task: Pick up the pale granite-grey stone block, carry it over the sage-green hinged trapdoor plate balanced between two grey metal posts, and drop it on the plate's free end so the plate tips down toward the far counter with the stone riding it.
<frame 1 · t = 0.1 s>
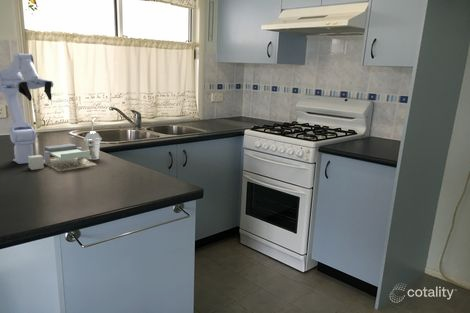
hand: (40, 98, 156), 32 cm above the counter, tool tilted 50°, fingers open, 7 cm apart
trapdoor: (67, 153, 180), point 5 cm above the counter, hinge at 0.0°
cup with straw: (94, 158, 193), on the counter
stone: (36, 168, 172), on the counter
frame: (64, 161, 184), on the counter
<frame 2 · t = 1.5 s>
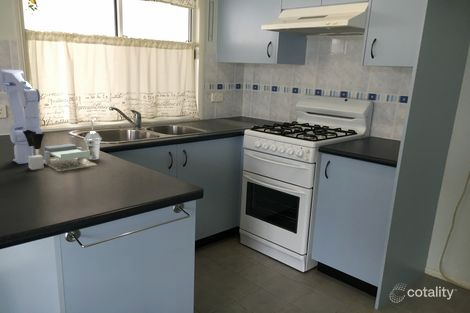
hand: (34, 147, 170), 9 cm above the counter, tool pointing down, fingers open, 7 cm apart
nothing on the counter moved.
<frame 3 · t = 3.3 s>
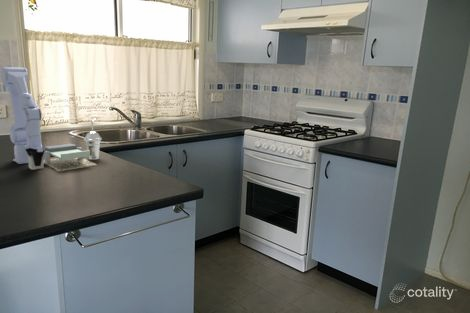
hand: (36, 164, 172), 1 cm above the counter, tool pointing down, fingers closed on stone, 4 cm apart
stone: (36, 168, 172), on the counter, touching gripper
everything else where it was.
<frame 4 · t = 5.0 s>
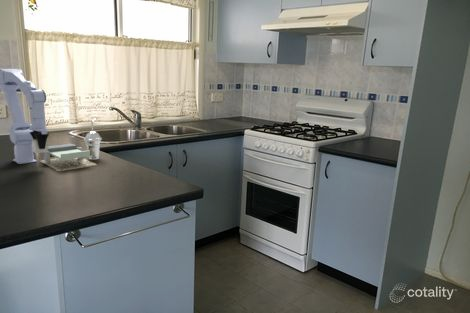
hand: (40, 148, 171), 9 cm above the counter, tool pointing down, fingers closed on stone, 4 cm apart
stone: (40, 151, 171), point 7 cm above the counter, touching gripper
everything else where it was.
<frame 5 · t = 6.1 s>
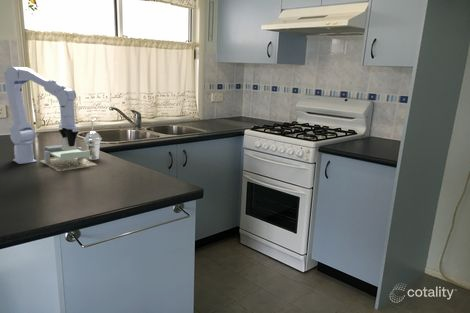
hand: (69, 145, 175), 10 cm above the counter, tool pointing down, fingers closed on stone, 4 cm apart
stone: (69, 149, 175), point 8 cm above the counter, touching gripper
everything else where it was.
when the fingers open (10 cm above the counter, at t = 6.6 s): stone drops 4 cm, resting on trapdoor.
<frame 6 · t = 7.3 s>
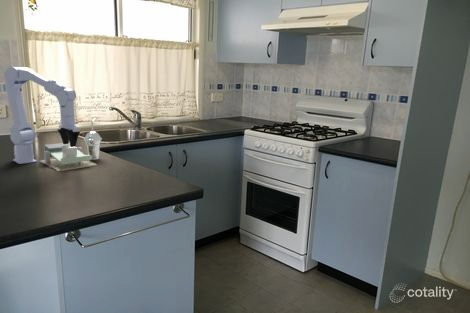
hand: (69, 145, 175), 10 cm above the counter, tool pointing down, fingers open, 7 cm apart
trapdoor: (67, 154, 181), point 4 cm above the counter, hinge at -8.6°, touching stone
stone: (69, 158, 176), point 4 cm above the counter, tilted 9°, touching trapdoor
everything else where it was.
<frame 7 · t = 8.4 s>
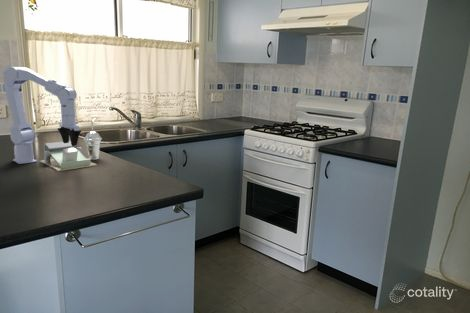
hand: (70, 144, 176), 10 cm above the counter, tool pointing down, fingers open, 7 cm apart
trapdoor: (67, 155, 181), point 4 cm above the counter, hinge at -16.2°, touching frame, stone
stone: (69, 160, 176), point 3 cm above the counter, tilted 16°, touching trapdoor
everything else where it was.
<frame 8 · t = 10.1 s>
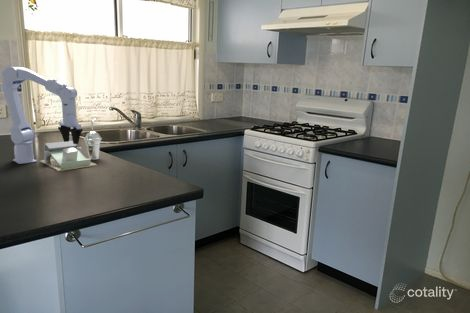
hand: (71, 142, 178), 10 cm above the counter, tool pointing down, fingers open, 7 cm apart
nothing on the counter moved.
at the end: stone point 2.6 cm above the counter; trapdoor at -16° (first picture: +0°) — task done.
